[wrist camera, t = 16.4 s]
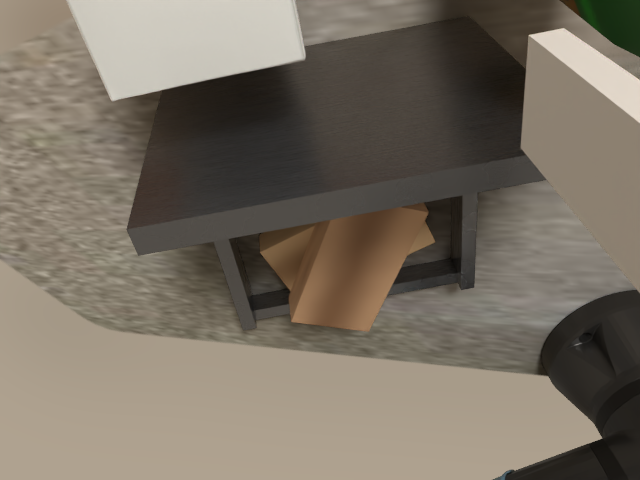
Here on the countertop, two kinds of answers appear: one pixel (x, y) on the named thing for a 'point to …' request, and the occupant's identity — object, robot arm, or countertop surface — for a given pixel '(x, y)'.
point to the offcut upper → (353, 266)
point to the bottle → (612, 20)
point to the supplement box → (185, 40)
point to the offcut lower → (291, 244)
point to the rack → (336, 148)
